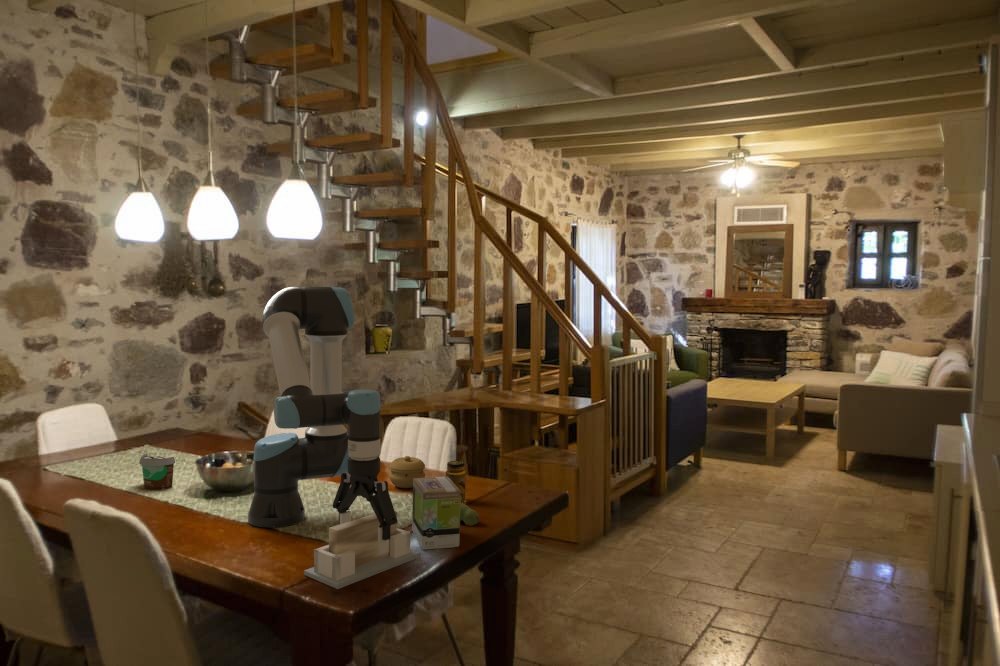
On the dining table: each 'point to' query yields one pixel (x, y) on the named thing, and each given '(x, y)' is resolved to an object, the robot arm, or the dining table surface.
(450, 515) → the tea box
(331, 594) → the dining table surface
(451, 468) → the condiment
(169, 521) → the dining table surface
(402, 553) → the frame
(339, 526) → the slat
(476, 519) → the pear
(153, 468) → the food container
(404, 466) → the pot
